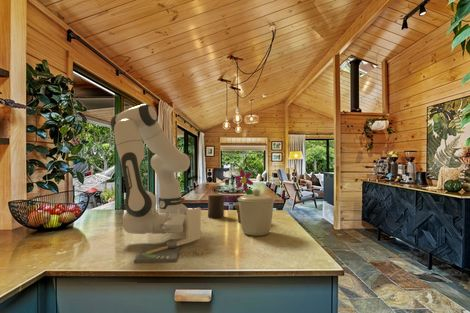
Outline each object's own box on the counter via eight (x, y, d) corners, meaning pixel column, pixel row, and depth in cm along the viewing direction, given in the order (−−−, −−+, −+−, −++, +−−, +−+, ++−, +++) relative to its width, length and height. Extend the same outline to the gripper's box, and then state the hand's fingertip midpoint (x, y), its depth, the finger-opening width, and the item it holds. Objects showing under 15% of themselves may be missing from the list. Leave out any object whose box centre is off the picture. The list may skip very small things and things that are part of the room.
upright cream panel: (196, 237, 119) (196, 207, 119) (202, 239, 116) (203, 208, 116) (143, 253, 98) (143, 216, 98) (149, 255, 96) (150, 218, 96)
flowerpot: (229, 222, 153) (229, 169, 153) (243, 218, 164) (243, 168, 165) (251, 226, 144) (251, 169, 145) (264, 221, 156) (264, 169, 157)
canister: (231, 230, 136) (231, 188, 136) (263, 227, 143) (263, 186, 143) (247, 240, 119) (247, 192, 119) (282, 236, 126) (282, 190, 127)
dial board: (143, 249, 106) (143, 246, 106) (179, 248, 108) (179, 245, 108) (133, 262, 93) (133, 259, 93) (175, 261, 94) (175, 258, 94)
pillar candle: (217, 219, 161) (217, 193, 162) (204, 217, 167) (205, 192, 167) (226, 216, 170) (227, 192, 170) (214, 214, 175) (214, 191, 175)
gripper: (158, 221, 106) (194, 220, 108) (166, 211, 127) (196, 211, 128) (157, 237, 106) (193, 237, 107) (166, 225, 127) (196, 224, 128)
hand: (195, 222), depth 118 cm, fingers closed
